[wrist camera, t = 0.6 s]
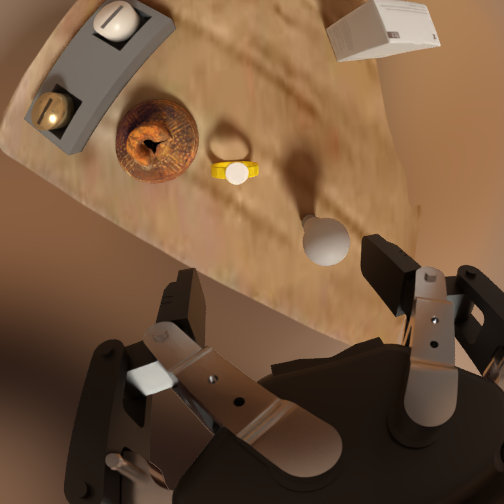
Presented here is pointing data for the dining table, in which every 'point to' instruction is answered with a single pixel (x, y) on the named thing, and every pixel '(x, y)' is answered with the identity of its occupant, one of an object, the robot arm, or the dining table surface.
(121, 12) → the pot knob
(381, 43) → the skincare box
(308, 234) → the lightbulb
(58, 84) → the knob mount
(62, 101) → the brass knob
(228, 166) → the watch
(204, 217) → the dining table surface
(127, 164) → the broken clay vessel
